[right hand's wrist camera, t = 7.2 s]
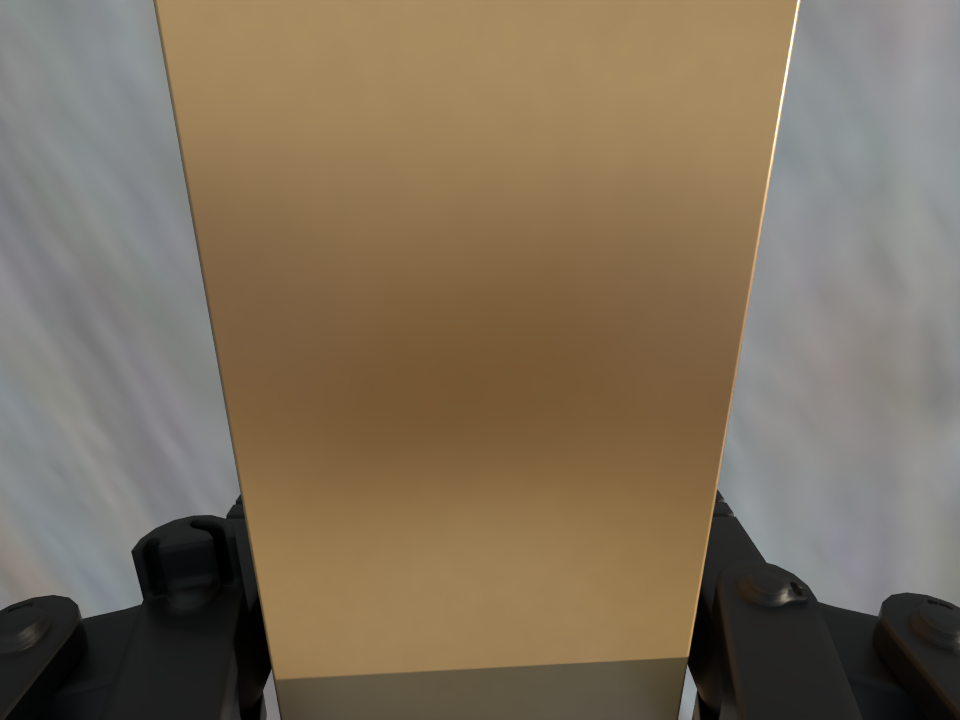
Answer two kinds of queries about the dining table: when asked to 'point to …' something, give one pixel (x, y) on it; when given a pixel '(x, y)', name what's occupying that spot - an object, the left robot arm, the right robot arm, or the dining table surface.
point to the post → (477, 331)
